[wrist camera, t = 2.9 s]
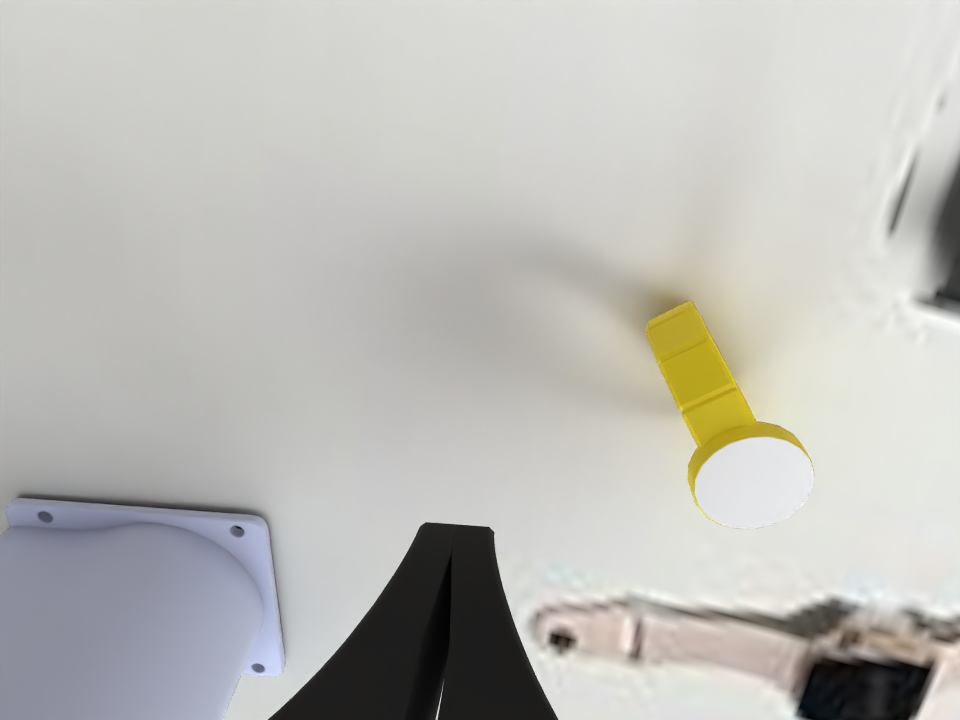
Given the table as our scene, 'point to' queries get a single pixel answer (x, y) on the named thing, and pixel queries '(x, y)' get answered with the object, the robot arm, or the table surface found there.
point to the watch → (727, 431)
